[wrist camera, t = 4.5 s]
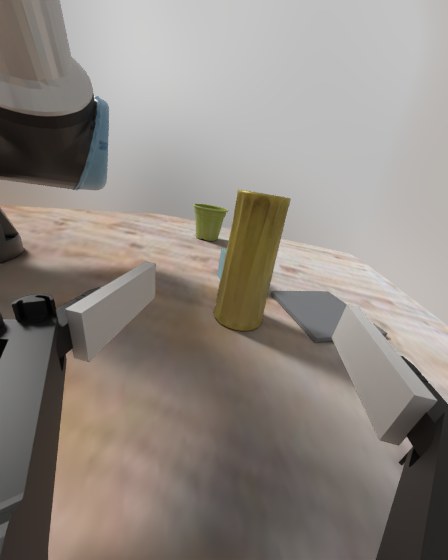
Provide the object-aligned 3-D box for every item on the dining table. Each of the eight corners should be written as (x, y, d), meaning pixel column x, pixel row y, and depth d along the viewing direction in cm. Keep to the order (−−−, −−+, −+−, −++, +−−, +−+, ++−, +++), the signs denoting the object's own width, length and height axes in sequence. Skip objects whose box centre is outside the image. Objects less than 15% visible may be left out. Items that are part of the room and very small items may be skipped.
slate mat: (314, 342, 24) (316, 338, 23) (270, 294, 33) (271, 290, 33) (385, 336, 27) (387, 333, 27) (326, 294, 36) (328, 291, 36)
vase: (250, 302, 30) (275, 195, 24) (270, 330, 24) (309, 201, 19) (208, 303, 28) (225, 187, 22) (220, 333, 22) (246, 191, 17)
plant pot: (214, 234, 66) (217, 205, 62) (229, 243, 59) (234, 211, 55) (185, 233, 61) (188, 202, 57) (198, 243, 54) (202, 208, 50)
